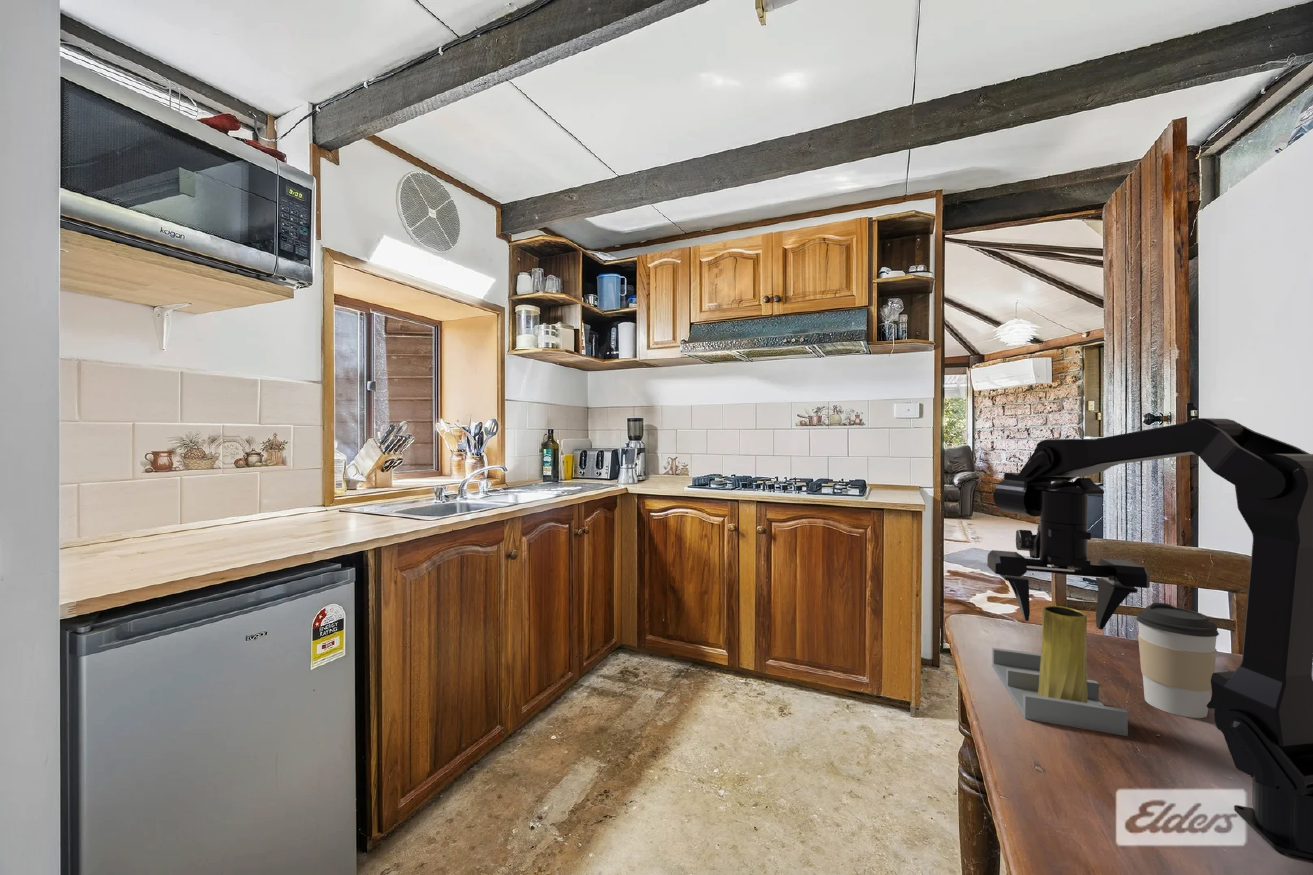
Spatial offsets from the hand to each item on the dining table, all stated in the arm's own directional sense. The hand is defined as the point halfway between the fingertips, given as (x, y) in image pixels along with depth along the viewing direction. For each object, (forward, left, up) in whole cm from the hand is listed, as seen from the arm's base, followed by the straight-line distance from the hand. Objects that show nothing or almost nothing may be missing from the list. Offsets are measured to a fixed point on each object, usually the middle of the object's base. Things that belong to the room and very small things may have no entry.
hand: (1062, 624), depth 79 cm
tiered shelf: (+4, 0, -13) cm, 14 cm away
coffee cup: (+8, -17, -13) cm, 23 cm away
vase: (0, 0, -12) cm, 12 cm away
